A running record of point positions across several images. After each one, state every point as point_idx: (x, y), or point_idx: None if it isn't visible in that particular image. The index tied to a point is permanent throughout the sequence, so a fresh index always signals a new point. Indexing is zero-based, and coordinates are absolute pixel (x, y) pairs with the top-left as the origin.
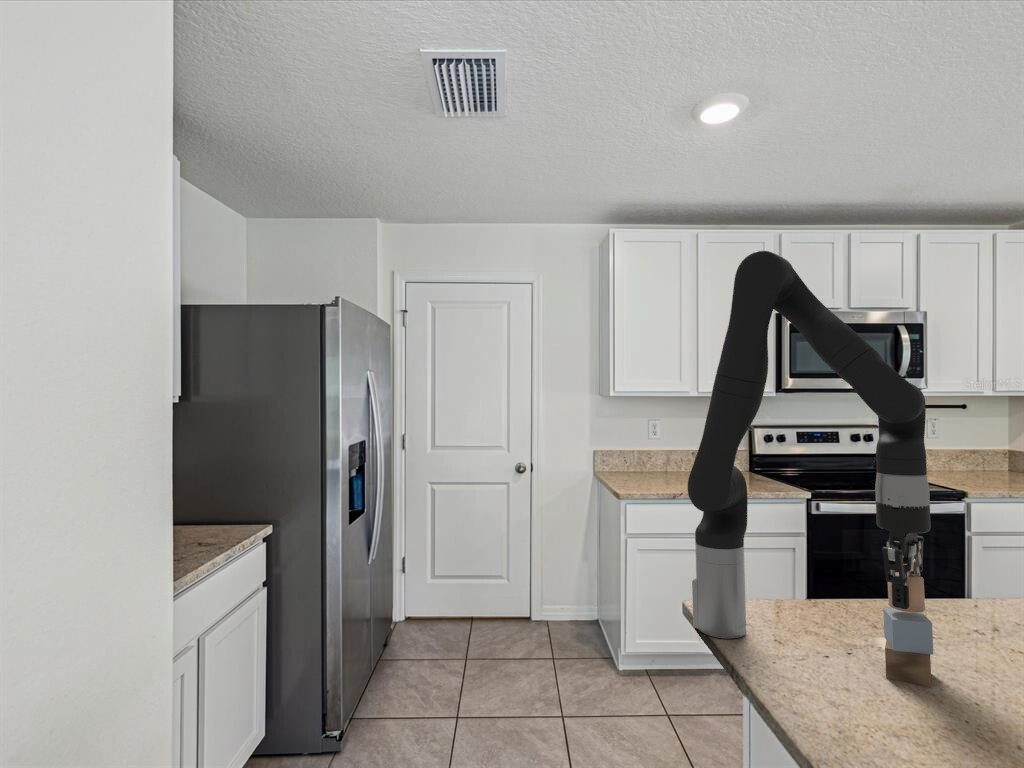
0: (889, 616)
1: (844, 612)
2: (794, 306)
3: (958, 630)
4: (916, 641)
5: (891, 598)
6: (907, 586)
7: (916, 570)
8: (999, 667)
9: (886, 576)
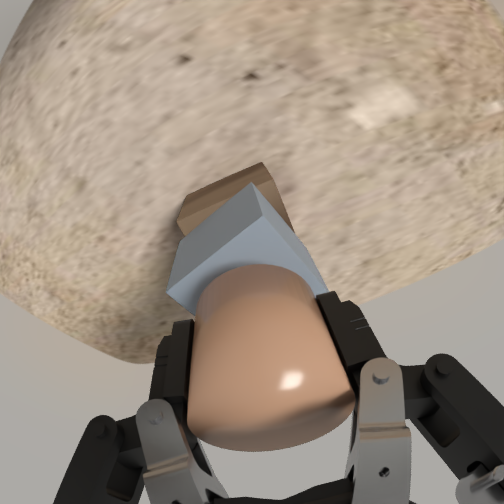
0: (190, 270)
1: (456, 9)
2: None
3: (498, 182)
4: None
5: (198, 320)
6: None
7: (350, 439)
8: (401, 273)
9: (82, 441)
